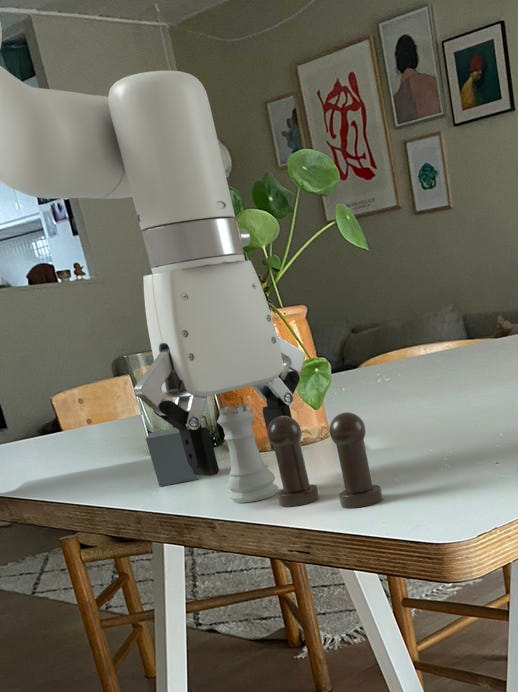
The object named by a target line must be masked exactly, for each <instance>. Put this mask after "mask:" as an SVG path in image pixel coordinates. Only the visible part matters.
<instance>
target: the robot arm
mask: <svg viewBox="0 0 518 692" xmlns="http://www.w3.org/2000/svg"><path fill="white" fill-rule="evenodd" d="M2 39H3V29H2V22H1V21H0V49H2V48H1V47H2ZM213 117H214V116H213V113H212V108H211V104H210V101H209V97H208V93H207V91H206V89H205V87H204V84H203V83H202V82H201V81H200V80H199V79H198V78H197V77H196V76H194V75H193V74H191V73H188V72H184V71H180V70H153V71H145V72H138V73H136V74H131V75H127V76H125V77H122V78H121V79H119V80H117V81H115V82H114V83H113V84H112V86H111V87H110V89H109V91H108V96H107V95H98V94H97V95H96V94H89V93H88V94H87V93H82V92H76V91H68V90H61V89H52V88H41V87H33V86H31V85H29V84H27V83H25V82H24V81H22V80H20V79H19V78H18V77H16V76H15V75H13V74H12V73H11V72H9V71H8V70H7V69H6V68H4V67H3V66H1V65H0V182H2V183H3V184H5V185H6V186H7V187H9V188H11V189H13V190H16V191H18V192H20V193H22V194H24V195H28V196H31V197H33V198H39V199H53V200H54V199H55V200H56V199H93V200H94V199H96V200H101V199H102V200H104V199H105V200H106V199H107V200H111V199H112V200H113V199H114V200H117V199H128V198H132V202H133V205H134V209H135V212H136V217H137V220H138V224H139V228H140V231H141V236H142V238H143V243H144V246H145V250H146V253H147V254H146V255H147V258H148V262H149V265H150V270H151V274H147V275H143V276H142V277H143V297H144V298H143V299H144V308H145V309H144V310H145V318H146V325H147V332H148V336H149V343H150V347H151V352H152V357H153V361H152V363H151V364H150V365H149V367H148V368H147V369H146V371H145V372H144V374H142V376H141V378H139V380H138V381H137V383H136V384H135V386H134V388H133V392H134V394H135V395H136V396H137V397H138V398H139V399H140V400H141V401H142V402H144V404H145V405H147V406H148V408H151V410H153V413H154V414H155V415H156V416H158V417H159V418H161V419H162V420H164V421H165V422H166V423H168V424H169V425H170V426H171V428H172V429H176V430H179V432H180V435H181V439H182V443H183V447H184V450H185V454H186V458H187V461H188V464H189V466H190V467H191V468H192V470H193V472H194V474H195V475H199V476H206V477H213V476H216V475H218V474H219V472H220V467H219V464H218V460H217V457H216V452H215V448H214V444H213V441H212V436H211V433H210V430H209V429H208V427H207V426H206V427H205V426H203V427H202V420H203V416H204V412H205V407H206V404H207V399H208V397H210V396H215V395H220V394H224V393H228V392H232V391H237V390H242V389H245V388H249V387H253V389H254V390H255V392H257V394H258V395H259V396H260V397H261V398H262V399H263V400H264V402H265V403H266V406H262V416H263V419H264V425H265V429H266V430H267V429H268V426H269V424H270V422H271V421H272V420H273V419H275V418H276V417H279V416H288V417H291V418H293V416H292V413H291V408H290V406H292V404H293V403H294V401H295V396H294V394H295V392H296V389H297V387H298V385H299V383H300V374H301V372H302V368H303V365H304V362H305V358H306V354H305V352H304V351H303V350H302V349H300V348H299V347H298V346H295V345H294V344H292V343H291V342H289V341H287V340H285V339H284V338H282V337H280V336H279V335H278V334H277V329H276V327H275V323H274V320H273V316H272V313H271V312H272V311H271V310H270V307H269V303H268V301H267V300H268V299H267V298H266V295H265V292H264V289H263V286H262V284H261V281H260V279H259V276H258V274H257V272H256V269H255V267H254V265H253V263H252V260H246V259H245V254H244V253H245V251H244V247H247V246H249V245H250V244H251V234H250V233H249V231H248V230H247V228H239V225H238V224H239V223H238V221H237V219H236V213H235V210H234V206H233V202H232V197H231V196H232V195H231V192H230V188H229V184H228V178H227V175H226V170H225V166H224V161H223V158H222V152H221V148H220V144H219V139H218V135H217V130H216V126H215V121H214V118H213ZM166 396H168V397H170V398H175V399H174V401H173V400H170V399H168V397H166ZM268 441H269V440H268ZM269 445H270V446H269V447H270V449H271V450H272V451H274V452H275V450H274V446H273V445H272V444H271V443H270V441H269Z"/></svg>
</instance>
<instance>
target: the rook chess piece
mask: <svg viewBox="0 0 518 692" xmlns="http://www.w3.org/2000/svg"><path fill="white" fill-rule="evenodd" d="M218 413H219V416H218V419H217V421H216V422H217V424H218V425H220V426H221V428H222V429H224V433H225V435H224V437H223V439H224V440H225V441H226V443H227V446H228V452H229V461H230V471H229V473H228V474H229V478H228V480H227V485H226V487H227V489H229V490H230V491H231V492H230V493H229V495H228V497H229V499H231V500H232V502H234V503H237V504H241V503H242V504H244V503H253V502H257V501H258V502H259V501H262V500H266V499H268V498H270V497H273V496H275V495H276V494H277V493H278V489H279V485H277V484H276V483H274V482H275V480H276V476H275V475H274V473H273V471H271V470H270V469H268V465H267V464H265V462H264V460H263V458H262V455H261V453H260V450H259V448H258V445H257V441H256V437H255V436H256V433H257V432H256V431H255V430H254V429H253V426H252V423H253V421H254V418H255V414H254V413H253V412H252V411H250V410H249V405H248V404H247V403H245V404H235V405H234V409H232V408H231V406H226V407H224V408H219V409H218Z"/></svg>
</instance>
